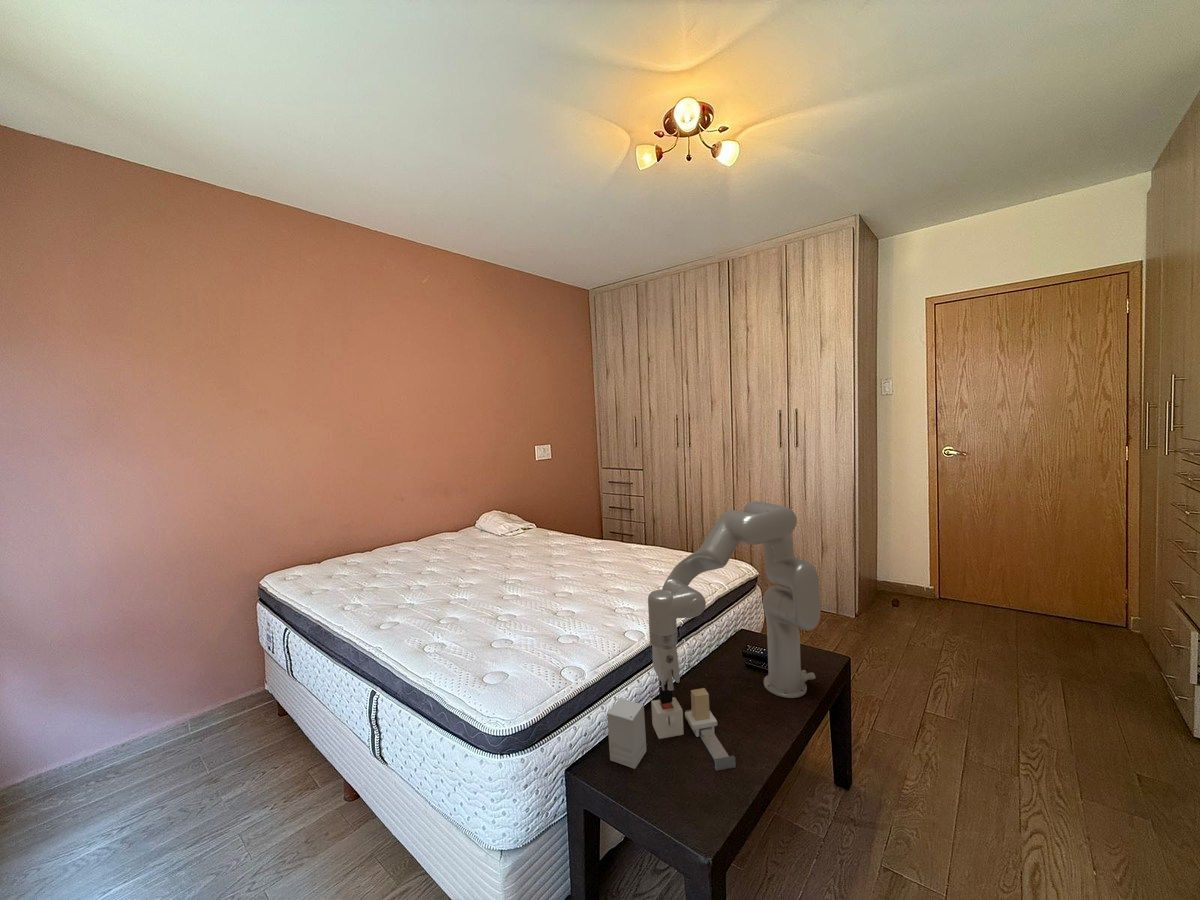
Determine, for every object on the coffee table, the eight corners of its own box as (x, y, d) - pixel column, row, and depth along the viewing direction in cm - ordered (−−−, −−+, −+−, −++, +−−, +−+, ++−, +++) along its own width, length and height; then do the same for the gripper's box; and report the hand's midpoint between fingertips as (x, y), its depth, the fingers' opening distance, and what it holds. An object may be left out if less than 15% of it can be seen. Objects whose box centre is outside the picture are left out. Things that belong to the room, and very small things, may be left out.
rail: (702, 715, 132) (701, 707, 132) (735, 767, 112) (735, 757, 112) (685, 718, 131) (685, 710, 131) (716, 770, 111) (716, 761, 111)
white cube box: (676, 720, 131) (675, 697, 130) (684, 736, 124) (683, 711, 124) (652, 724, 129) (651, 700, 129) (659, 740, 123) (658, 715, 122)
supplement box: (647, 751, 119) (645, 704, 118) (634, 770, 113) (632, 720, 112) (622, 742, 123) (619, 696, 122) (608, 760, 116) (606, 712, 116)
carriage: (708, 719, 130) (707, 684, 130) (717, 733, 124) (716, 696, 124) (685, 723, 129) (683, 688, 128) (693, 737, 123) (691, 700, 122)
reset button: (669, 715, 128) (668, 698, 128) (672, 720, 126) (671, 703, 126) (662, 717, 128) (661, 699, 127) (664, 721, 126) (663, 704, 125)
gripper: (686, 647, 119) (688, 716, 120) (667, 623, 134) (670, 684, 134) (658, 651, 118) (661, 720, 118) (642, 627, 132) (645, 688, 133)
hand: (666, 701), depth 126 cm, fingers closed
